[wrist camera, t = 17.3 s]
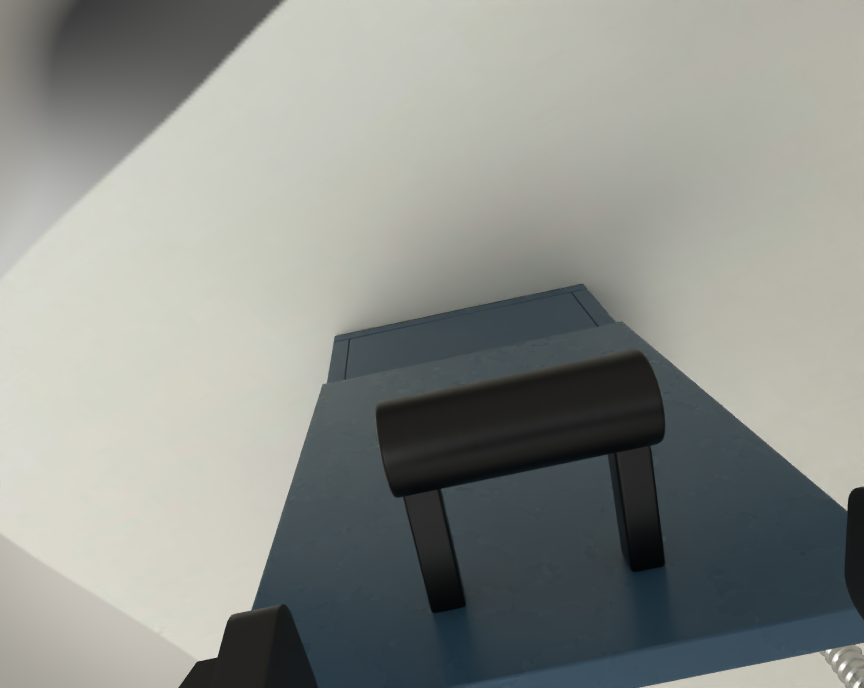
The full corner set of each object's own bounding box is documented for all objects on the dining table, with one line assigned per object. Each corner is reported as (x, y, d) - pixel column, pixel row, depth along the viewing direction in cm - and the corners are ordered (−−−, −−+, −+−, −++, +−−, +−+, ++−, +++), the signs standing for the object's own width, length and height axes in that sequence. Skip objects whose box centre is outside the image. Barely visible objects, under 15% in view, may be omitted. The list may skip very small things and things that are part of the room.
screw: (809, 541, 41) (841, 589, 43) (738, 582, 42) (772, 627, 44) (981, 739, 30) (1016, 794, 31) (878, 790, 30) (917, 842, 32)
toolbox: (614, 546, 41) (648, 620, 35) (405, 588, 41) (408, 669, 36) (583, 283, 34) (619, 326, 29) (334, 335, 34) (325, 387, 29)
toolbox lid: (942, 628, 12) (946, 344, 10) (223, 772, 12) (123, 513, 10) (624, 339, 29) (608, 214, 27) (327, 401, 29) (294, 281, 27)
